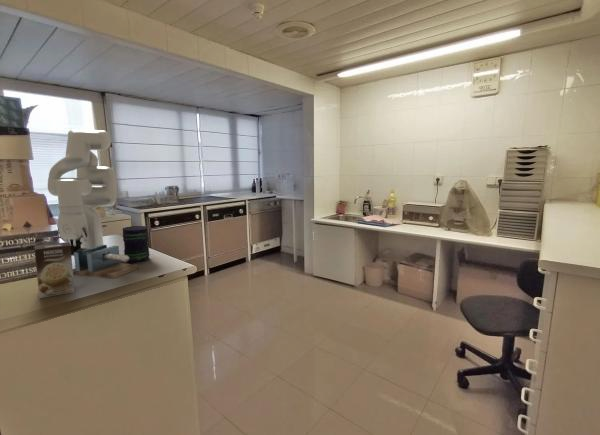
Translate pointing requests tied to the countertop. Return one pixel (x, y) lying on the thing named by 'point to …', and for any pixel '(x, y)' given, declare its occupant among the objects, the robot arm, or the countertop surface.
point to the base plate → (109, 270)
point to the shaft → (111, 256)
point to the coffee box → (54, 269)
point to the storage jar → (136, 244)
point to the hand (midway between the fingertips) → (76, 254)
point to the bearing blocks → (94, 258)
